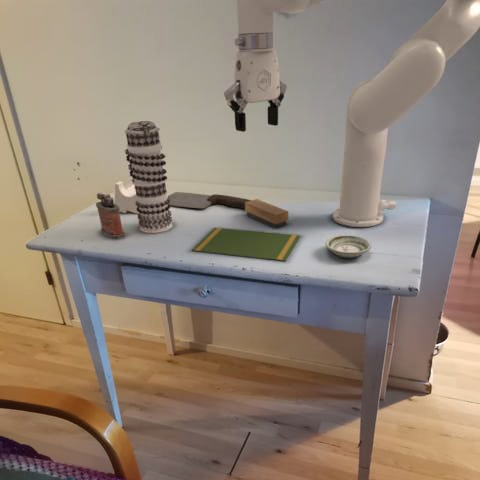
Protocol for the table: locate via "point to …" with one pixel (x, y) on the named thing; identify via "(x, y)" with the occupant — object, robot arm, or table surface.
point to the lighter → (109, 217)
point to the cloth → (248, 244)
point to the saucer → (348, 245)
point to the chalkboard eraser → (266, 213)
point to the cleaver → (204, 200)
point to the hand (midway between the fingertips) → (257, 127)
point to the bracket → (125, 198)
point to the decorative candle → (148, 176)
